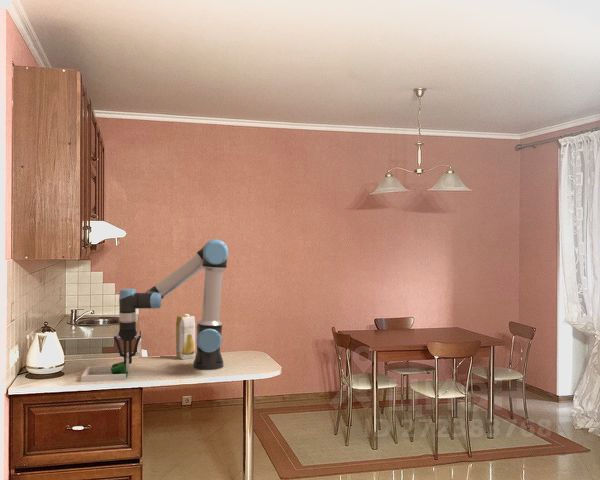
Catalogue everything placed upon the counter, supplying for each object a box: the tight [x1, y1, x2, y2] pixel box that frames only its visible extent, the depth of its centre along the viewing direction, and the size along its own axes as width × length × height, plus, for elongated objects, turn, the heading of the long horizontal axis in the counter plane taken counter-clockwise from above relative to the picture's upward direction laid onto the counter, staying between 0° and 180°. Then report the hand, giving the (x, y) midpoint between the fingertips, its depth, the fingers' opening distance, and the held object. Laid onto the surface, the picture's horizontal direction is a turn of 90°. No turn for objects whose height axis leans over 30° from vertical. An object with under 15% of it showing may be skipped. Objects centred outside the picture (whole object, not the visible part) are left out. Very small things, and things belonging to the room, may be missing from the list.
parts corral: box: [80, 365, 127, 383], centre depth 294 cm, size 20×21×2 cm
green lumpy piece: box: [110, 360, 129, 378], centre depth 294 cm, size 12×6×9 cm, turn 6°
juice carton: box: [175, 313, 196, 360], centre depth 336 cm, size 9×8×24 cm
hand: (127, 370), depth 295 cm, fingers closed
